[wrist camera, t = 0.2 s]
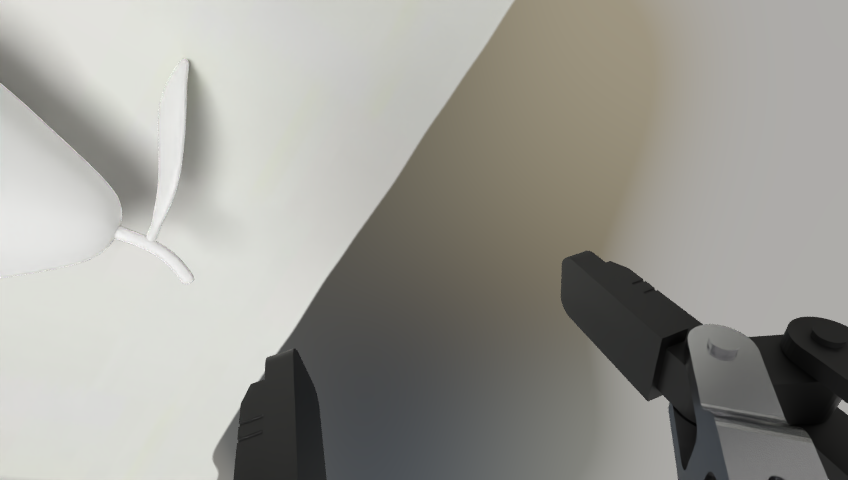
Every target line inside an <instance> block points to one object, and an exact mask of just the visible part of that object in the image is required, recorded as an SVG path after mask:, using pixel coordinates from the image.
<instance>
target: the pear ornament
mask: <svg viewBox="0 0 848 480" xmlns="http://www.w3.org/2000/svg"><path fill="white" fill-rule="evenodd" d="M188 72H189V62H188V60H187V59H184V58H183V59H182V60H181V61H180V62H179V63H178V64H177V66H176V67H175V69H174V70H173V72H172V73H171V75H170V77H169V79H168V81H167V83H166V85H165V87H164V90H163V93H162V96H161V99H160V103H159V112H158V151H159V168H158V188H157V196H156V202H155V207H154V212H153V217H152V223H151V226H150V228H149V230H148V232H147V234H146V236H145V235H142V234H140V233H137V232H135V231H132V230H129V229H127V228H124V227H122V226H120V225H121V221H122V206H121V203H120V200H119V198H118V196H117V194H116V193H115V192H114V190H113V189H112V187H111V186H110V185H109V184H108V182H107V181H106V180H105V179H104V178H103V177H102V176H101V175H100V174H99V173H98V172H97V171H96V170H95V169H94V168H93V167H92V166H91V165H90V164H89V163H88V162H87V161H86V160H85V159H84V158H83V157H82V156H81V155H79V154H78V153H77V152H76V151H75V150H74V149H73V148H72V147H71V146H70V145H69V144H68V143H67V142H66V141H64V140H63V139H62V138H61V137H60V136H59V135H58V134H57V133H56V132H55V131H54V130H53V129H52V128H51V127H49V126H48V125H47V124H46V123H45V122H44V121H43V120H42V119H41V118H40V117H39V116H38V115H36V114H35V113H34V112H33V111H32V110H31V109H30V108H29V107H28V106H27V105H26V104H24V103H23V102H22V101H21V100H20V99H19V98H18V97H17V96H15V95H14V94H13V93H12V92H11V91H10V90H8V89H7V88H6V87H5V86H4V85H2V84H1V83H0V278H6V277H13V276H19V275H25V274H31V273H37V272H43V271H48V270H54V269H58V268H63V267H67V266H72V265H75V264H78V263H81V262H84V261H87V260H90V259H92V258H93V257H95V256H97V255H99V254H101V253H102V252H103V251H104V250H105V249H106V248H107V247H108V246H109V245H110V244H111V243H112V242H113V240H114V239H117V240H121V241H124V242H127V243H130V244H132V245H135V246H137V247H140V248H142V249H144V250H146V251H148V252H150V253H151V254H153V255H155V256H157V257H158V258H159V259H161V260H162V261H163V262H165V263H166V264H167V265H168V266H169V267H170V268H171V269H172V270H173V272H174V273H175V274H176V275H177V277H178V278H179V279H180V281H181V282H182V283H183V284H189V283H191V282H193V281H194V276H193V274H192V273H191V271H190V270H189V269H188V267H187V266H186V265H185V264H184V263H183V261H182V260H181V259H180V258H179V257H178V256H177V255H176V254H175V253H173V252H172V251H171V250H169V249H168V248H167V247H165V246H164V245H162V244H160V243H158V242H157V241H155V240H156V238H157V236H158V233H159V231H160V228H161V226H162V223H163V221H164V219H165V217H166V214H167V212H168V210H169V208H170V206H171V204H172V201H173V199H174V196H175V193H176V191H177V187H178V183H179V179H180V174H181V169H182V162H183V154H184V144H185V131H186V111H187V83H188Z"/></svg>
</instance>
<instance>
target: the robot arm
mask: <svg viewBox="0 0 848 480" xmlns="http://www.w3.org/2000/svg"><path fill="white" fill-rule="evenodd" d="M561 283H562V284H561V301H562V304H563V307H564V309H565V311H566V313H567V314H568V316H569V317H570V318H571V319H572V320H573V321H574V322H575V323H576V324H577V326H578V327H579V328H580V329H581V330H582V331H583V332H584V333H585V334H586V335H587V336H588V337H589V338H590V340H591V341H592V342H593V343H594V344H595V345H596V346H597V347H598V348H599V349H600V350H601V351H602V353H603V354H604V355H605V356H606V357H607V358H608V359H609V360H610V361H611V362H612V363H613V364H614V365H615V367H616V368H618V370H619V371H620V372H621V373H622V374H623V375H624V376H625V377H626V378H627V379H628V381H629V382H630V383H631V384H632V385H633V386H634V387H635V388H636V389H637V390H638V391H639V392H640V394H641V395H643V397H644V398H645V399H646V400H647V401H650V400H652V399H655V398H657V397H659V396H661V395H664V397H666V399H667V400H668V401H669V402H670V403H669V407H668V408H669V418H670V425H671V431H672V438H673V446H674V453H675V460H676V467H677V475H678V480H828V479H829V480H848V415H847V414H845V413H844V412H843V411H842V410H840V409H839V408H838V407H837V406H838V405H839V403H840V402H841V400H844V401H845V402H846V403H848V327H847V326H845V325H843V324H840V323H838V322H835V321H831V320H828V319H824V318H818V317H800V318H797V319H794V320H792V321H791V322H790V323H789V325H788V327H787V329H786V331H785V333H784V335H772V336H758V337H747V336H745V335H744V334H742V333H741V332H739V331H736V330H734V329H732V328H729V327H726V326H721V325H714V324H705V325H703V324H702V323H700V322H699V321H697V320H696V319H695V318H694V317H692V316H691V315H689V314H688V313H687V312H686V311H684V310H683V309H682V308H680V307H679V306H678V305H676V304H675V303H674V302H672V301H671V300H670V299H668V298H667V297H666V296H665V295H663V294H662V293H660V292H659V291H658V290H657V291H655V289H654V287H652V286H651V285H650V284H649V283H647V282H646V281H645V282H644V281H643V279H642V278H641V277H639V276H638V275H637V274H635V273H634V272H633V271H631V270H630V269H628V268H626V267H624V266H621V265H619V264H616V263H613V262H611V261H609V262H604V261H603V260H602V259H600V258H599V257H598V256H596V255H595V254H594V253H592V252H590V251H585V252H582V253H579V254H576V255H573V256H570V257H567V258H565V259H564V260H563V262H562V279H561ZM239 424H240V427H239V429H238V443H237V450H236V459H235V470H234V480H327V479H326V469H325V459H324V448H323V439H322V429H321V418H320V408H319V401H318V397H317V393H316V390H315V387H314V384H313V382H312V380H311V378H310V376H309V374H308V372H307V369H306V367H305V365H304V363H303V361H302V359H301V357H300V355H299V353H298V351H297V350H296V349H291V350H288V351H285V352H282V353H279V354H276V355H273V356H270V357H267V358H266V362H265V380H262V381H259V382H256V383H253V384H251V385H250V387H249V389H248V391H247V393H246V395H245V397H244V399H243V401H242V403H241V408H240V419H239Z"/></svg>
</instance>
